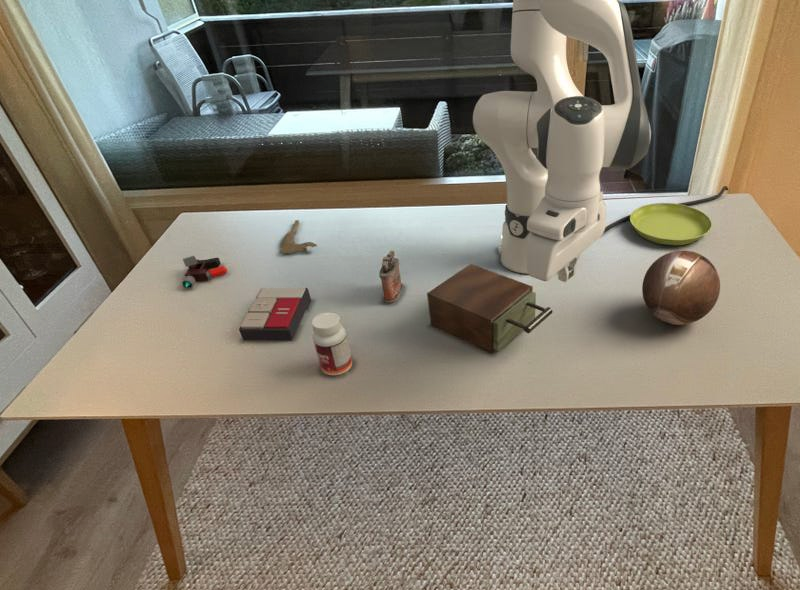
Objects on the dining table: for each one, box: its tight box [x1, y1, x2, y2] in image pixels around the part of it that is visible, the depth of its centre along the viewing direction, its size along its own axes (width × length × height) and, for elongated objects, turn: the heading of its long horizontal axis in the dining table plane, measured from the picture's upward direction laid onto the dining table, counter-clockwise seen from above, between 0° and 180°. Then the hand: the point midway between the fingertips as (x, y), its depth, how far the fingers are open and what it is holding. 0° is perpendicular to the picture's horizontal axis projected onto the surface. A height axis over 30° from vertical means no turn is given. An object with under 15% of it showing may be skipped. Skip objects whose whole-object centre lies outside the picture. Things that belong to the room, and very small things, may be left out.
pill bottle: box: [311, 312, 353, 376], centre depth 109 cm, size 6×6×11 cm
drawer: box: [493, 291, 553, 352], centre depth 117 cm, size 21×13×7 cm, turn 52°
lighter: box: [378, 249, 404, 305], centre depth 129 cm, size 8×3×10 cm, turn 168°
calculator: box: [238, 287, 312, 341], centre depth 124 cm, size 11×4×15 cm
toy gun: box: [181, 255, 228, 290], centre depth 139 cm, size 10×12×5 cm
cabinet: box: [426, 263, 534, 355], centre depth 119 cm, size 16×14×8 cm
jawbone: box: [279, 219, 318, 255], centre depth 154 cm, size 9×20×2 cm, turn 29°
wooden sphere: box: [641, 249, 721, 326], centre depth 116 cm, size 15×15×15 cm
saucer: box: [629, 202, 713, 246], centre depth 149 cm, size 21×21×3 cm
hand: (566, 277), depth 102 cm, fingers closed
